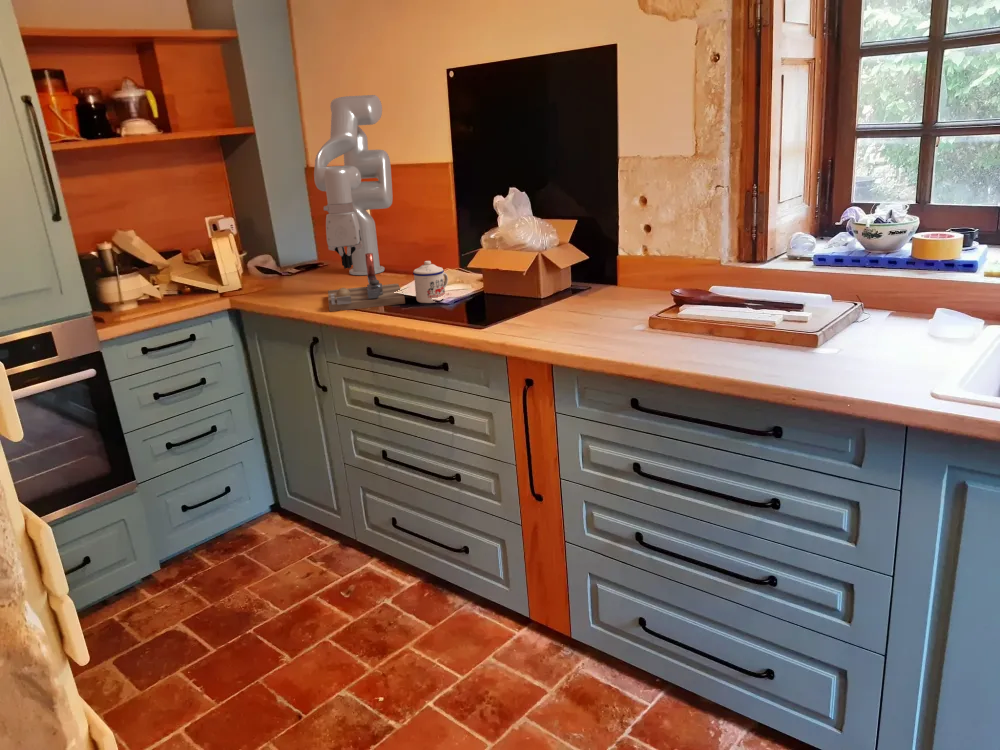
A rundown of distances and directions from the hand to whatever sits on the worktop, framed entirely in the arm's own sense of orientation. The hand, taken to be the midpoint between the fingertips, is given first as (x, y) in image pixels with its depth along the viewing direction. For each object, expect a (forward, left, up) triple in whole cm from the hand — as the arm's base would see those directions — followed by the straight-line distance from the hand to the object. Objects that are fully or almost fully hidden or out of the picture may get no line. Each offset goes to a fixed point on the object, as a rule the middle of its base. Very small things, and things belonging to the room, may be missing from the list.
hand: (347, 267), depth 240 cm
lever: (+12, +7, -5) cm, 15 cm away
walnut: (+21, -2, -6) cm, 22 cm away
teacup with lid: (+22, +24, -8) cm, 33 cm away
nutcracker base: (+14, +4, -8) cm, 16 cm away
